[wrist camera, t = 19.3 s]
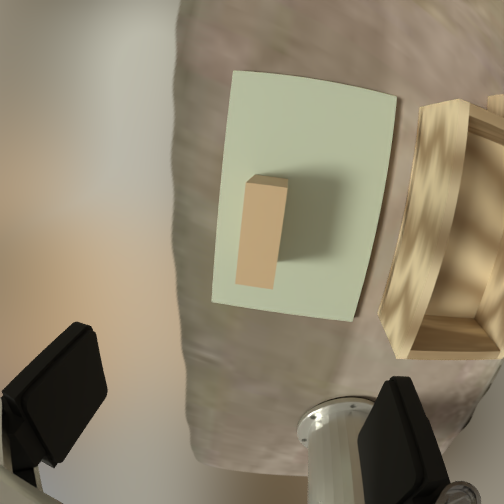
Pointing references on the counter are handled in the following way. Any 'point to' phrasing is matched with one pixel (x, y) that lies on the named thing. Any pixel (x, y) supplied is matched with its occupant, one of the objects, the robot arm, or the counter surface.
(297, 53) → the counter surface
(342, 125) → the lid
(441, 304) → the tan wooden open box
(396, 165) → the counter surface
